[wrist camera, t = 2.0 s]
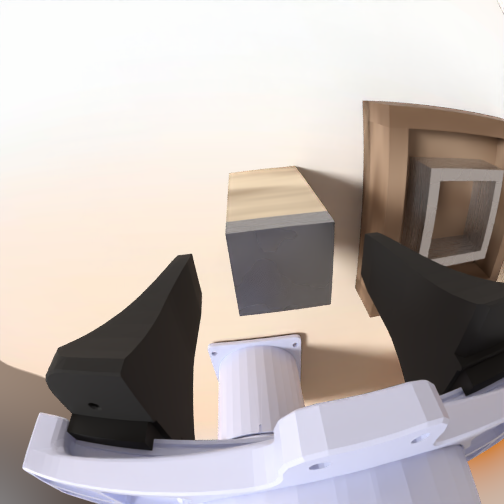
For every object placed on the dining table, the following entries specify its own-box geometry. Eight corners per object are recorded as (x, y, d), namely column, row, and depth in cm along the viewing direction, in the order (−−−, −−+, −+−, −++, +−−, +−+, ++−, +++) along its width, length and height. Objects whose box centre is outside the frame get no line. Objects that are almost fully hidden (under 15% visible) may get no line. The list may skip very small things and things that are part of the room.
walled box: (473, 265, 22) (493, 287, 19) (355, 287, 23) (370, 317, 20) (499, 117, 15) (529, 127, 12) (362, 100, 15) (389, 105, 12)
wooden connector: (298, 224, 20) (330, 304, 13) (237, 231, 20) (239, 316, 13) (295, 166, 18) (334, 221, 11) (229, 173, 18) (225, 234, 11)
